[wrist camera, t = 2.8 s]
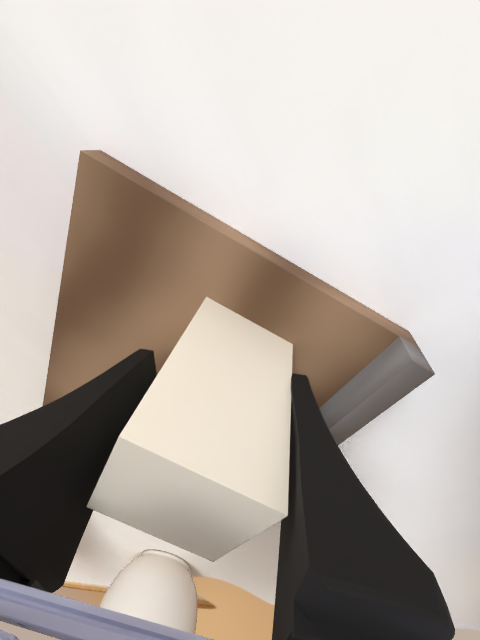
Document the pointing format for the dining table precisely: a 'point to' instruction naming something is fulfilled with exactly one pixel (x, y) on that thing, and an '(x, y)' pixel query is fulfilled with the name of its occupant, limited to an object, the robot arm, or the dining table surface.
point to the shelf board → (215, 283)
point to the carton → (207, 440)
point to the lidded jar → (155, 591)
